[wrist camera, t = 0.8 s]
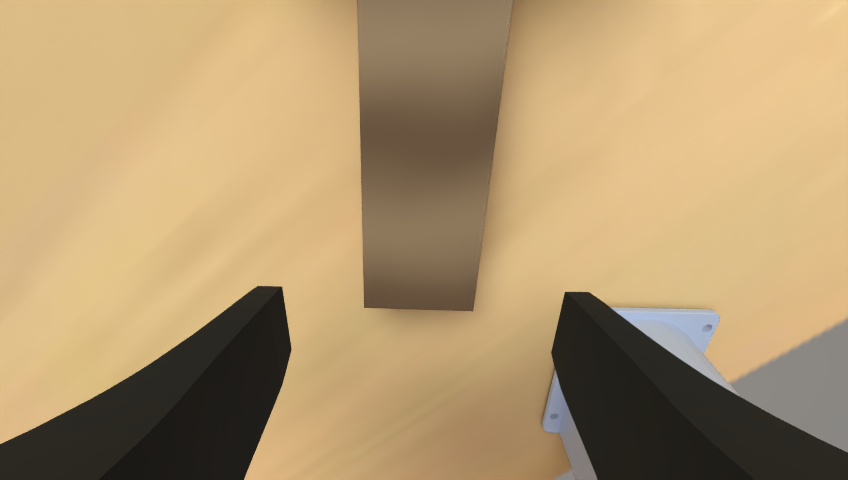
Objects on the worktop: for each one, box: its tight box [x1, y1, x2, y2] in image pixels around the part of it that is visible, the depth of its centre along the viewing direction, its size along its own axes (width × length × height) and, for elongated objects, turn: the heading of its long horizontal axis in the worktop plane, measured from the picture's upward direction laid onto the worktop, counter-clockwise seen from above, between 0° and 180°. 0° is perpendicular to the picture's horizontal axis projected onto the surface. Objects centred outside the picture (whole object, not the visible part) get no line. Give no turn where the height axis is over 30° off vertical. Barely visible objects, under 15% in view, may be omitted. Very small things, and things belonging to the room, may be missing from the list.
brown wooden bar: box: [357, 0, 513, 311], centre depth 16 cm, size 14×4×4 cm, turn 177°
